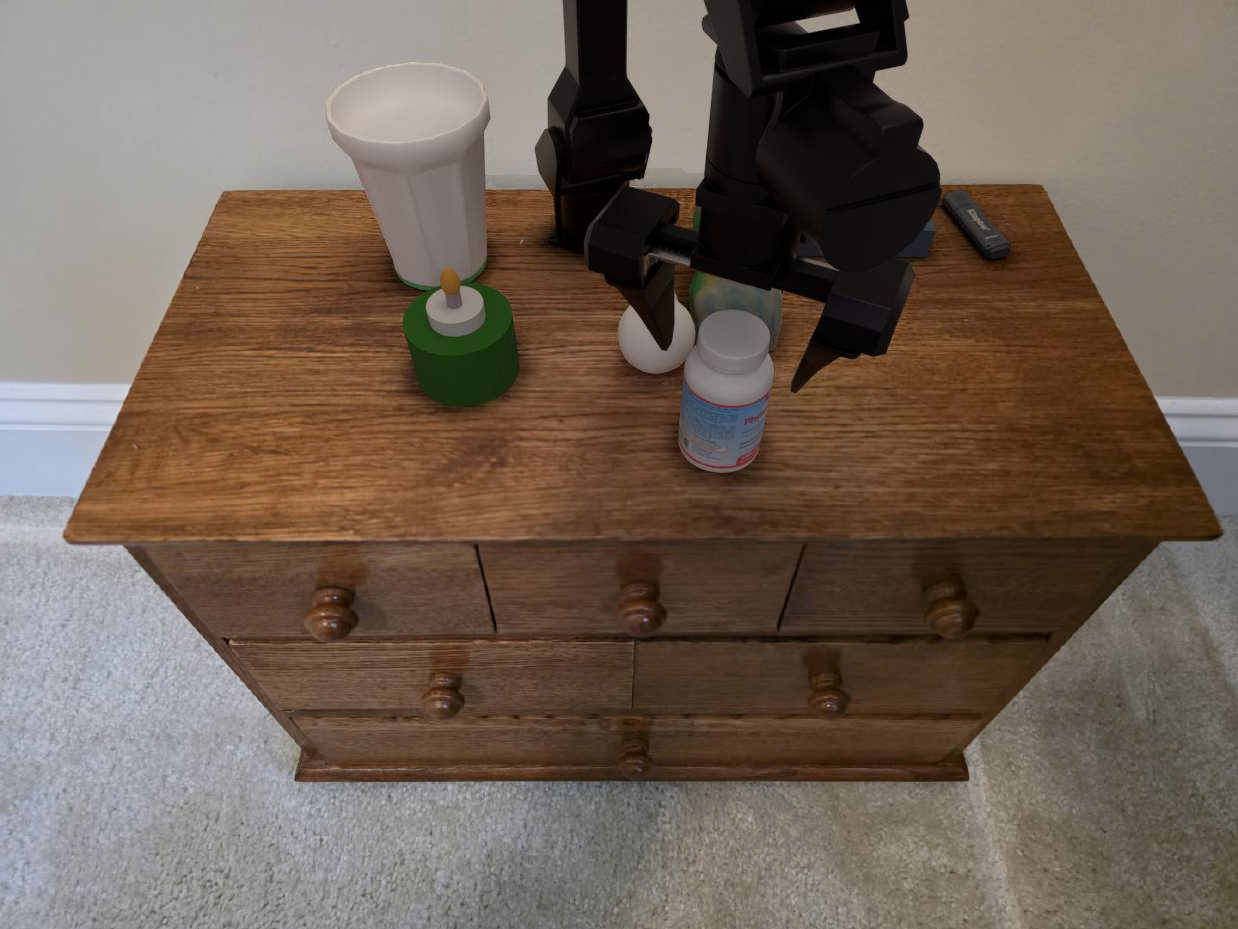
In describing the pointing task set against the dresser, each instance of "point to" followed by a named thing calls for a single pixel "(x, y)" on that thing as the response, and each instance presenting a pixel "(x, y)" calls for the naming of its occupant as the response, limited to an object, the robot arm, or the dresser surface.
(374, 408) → the dresser surface
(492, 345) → the candle
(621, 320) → the lightbulb
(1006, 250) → the usb stick
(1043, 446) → the dresser surface
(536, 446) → the dresser surface
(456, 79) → the cup
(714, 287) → the sculpture
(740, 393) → the pill bottle
